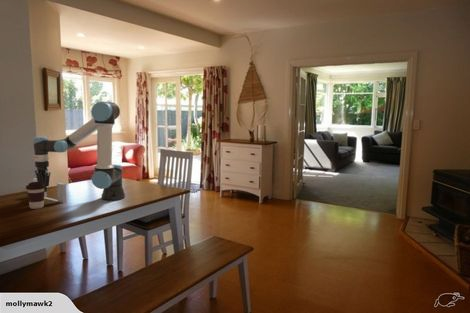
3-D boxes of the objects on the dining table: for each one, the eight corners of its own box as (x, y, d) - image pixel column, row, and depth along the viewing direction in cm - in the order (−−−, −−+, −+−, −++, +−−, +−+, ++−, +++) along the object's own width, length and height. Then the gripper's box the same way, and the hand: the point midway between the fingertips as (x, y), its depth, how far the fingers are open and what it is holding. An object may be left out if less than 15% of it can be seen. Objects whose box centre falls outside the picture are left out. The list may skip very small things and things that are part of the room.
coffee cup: (23, 208, 194) (21, 183, 192) (38, 203, 203) (36, 180, 201) (35, 210, 191) (33, 185, 188) (49, 206, 200) (48, 182, 198)
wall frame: (37, 195, 222) (36, 177, 221) (66, 202, 209) (65, 183, 207) (33, 195, 220) (32, 178, 218) (63, 203, 207) (62, 184, 205)
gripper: (29, 160, 207) (32, 196, 211) (42, 162, 201) (44, 199, 205) (41, 158, 214) (43, 193, 218) (53, 161, 208) (56, 196, 212)
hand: (44, 196), depth 211 cm, fingers closed
